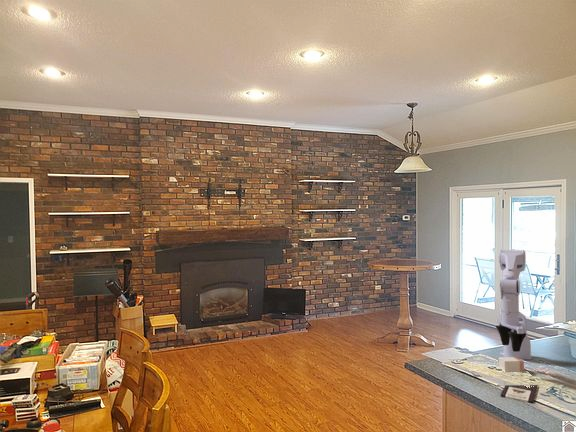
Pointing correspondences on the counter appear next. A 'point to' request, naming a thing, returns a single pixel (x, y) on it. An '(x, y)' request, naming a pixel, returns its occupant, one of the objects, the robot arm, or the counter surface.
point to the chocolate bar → (519, 392)
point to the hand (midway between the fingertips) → (510, 348)
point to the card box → (511, 364)
